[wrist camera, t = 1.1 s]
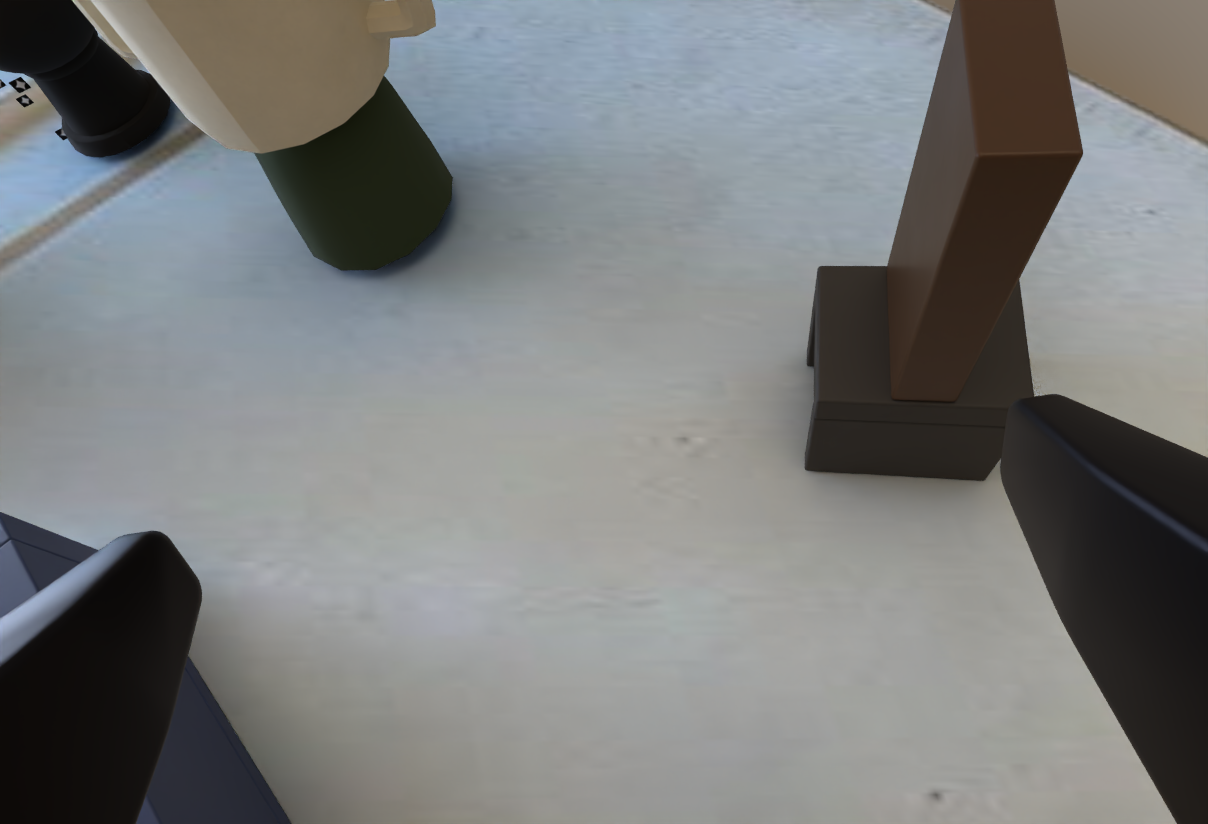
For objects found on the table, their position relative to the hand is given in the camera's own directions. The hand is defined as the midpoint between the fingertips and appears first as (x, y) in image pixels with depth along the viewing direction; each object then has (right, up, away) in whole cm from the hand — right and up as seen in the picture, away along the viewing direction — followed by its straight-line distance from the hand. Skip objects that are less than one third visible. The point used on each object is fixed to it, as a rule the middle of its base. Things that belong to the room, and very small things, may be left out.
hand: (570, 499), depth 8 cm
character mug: (-8, +9, +23) cm, 26 cm away
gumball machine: (-22, +14, +28) cm, 39 cm away
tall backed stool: (+9, +1, +15) cm, 18 cm away
